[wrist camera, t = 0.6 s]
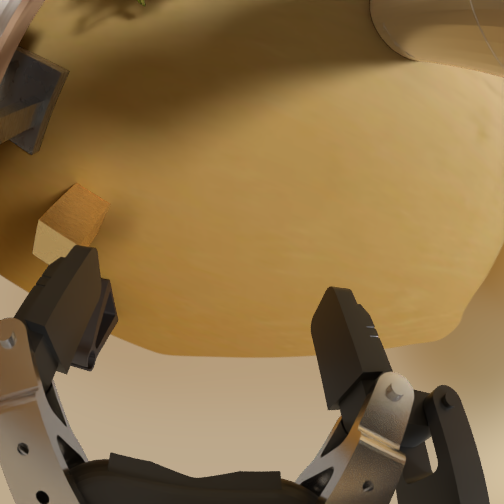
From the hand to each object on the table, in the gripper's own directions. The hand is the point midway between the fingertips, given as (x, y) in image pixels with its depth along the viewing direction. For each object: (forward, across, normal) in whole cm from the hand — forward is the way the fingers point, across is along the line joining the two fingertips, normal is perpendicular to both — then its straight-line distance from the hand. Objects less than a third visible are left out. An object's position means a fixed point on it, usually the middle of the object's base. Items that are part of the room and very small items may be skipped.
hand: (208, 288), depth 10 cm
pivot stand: (+20, +28, -6) cm, 35 cm away
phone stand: (+22, +16, +25) cm, 37 cm away
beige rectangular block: (+21, +15, +10) cm, 27 cm away
